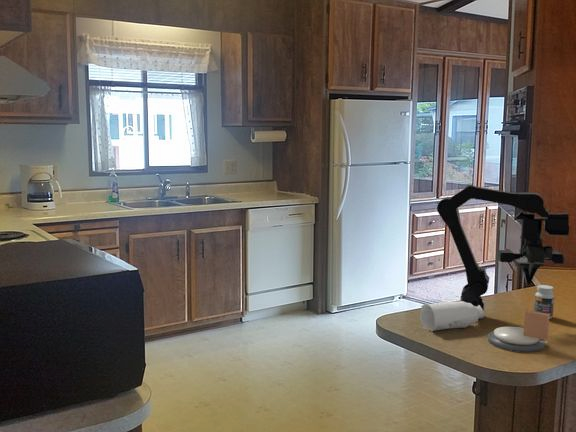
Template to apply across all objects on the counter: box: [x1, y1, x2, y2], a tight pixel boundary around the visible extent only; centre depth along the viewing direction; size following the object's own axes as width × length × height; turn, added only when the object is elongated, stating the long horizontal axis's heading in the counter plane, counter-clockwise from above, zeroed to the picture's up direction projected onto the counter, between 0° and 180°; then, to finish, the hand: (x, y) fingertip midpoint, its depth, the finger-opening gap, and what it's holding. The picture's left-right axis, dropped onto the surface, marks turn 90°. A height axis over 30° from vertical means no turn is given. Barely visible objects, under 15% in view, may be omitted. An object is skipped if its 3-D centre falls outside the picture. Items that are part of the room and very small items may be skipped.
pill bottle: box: [533, 284, 555, 320], centre depth 195 cm, size 6×6×10 cm
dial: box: [493, 309, 550, 345], centre depth 170 cm, size 14×12×8 cm
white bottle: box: [419, 301, 485, 332], centre depth 184 cm, size 8×19×8 cm, turn 108°
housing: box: [487, 331, 548, 353], centre depth 171 cm, size 15×15×1 cm
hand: (528, 284), depth 189 cm, fingers closed
